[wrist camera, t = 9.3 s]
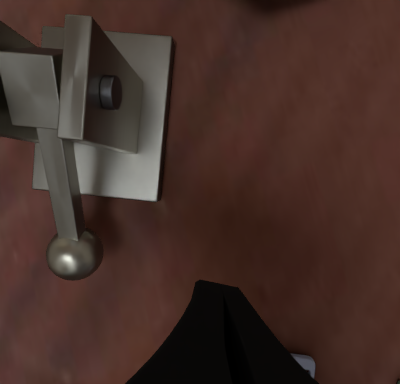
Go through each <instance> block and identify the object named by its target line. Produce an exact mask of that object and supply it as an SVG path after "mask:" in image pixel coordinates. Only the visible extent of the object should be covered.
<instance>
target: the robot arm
mask: <svg viewBox="0 0 400 384" xmlns="http://www.w3.org/2000/svg"><path fill="white" fill-rule="evenodd" d="M315 367H316V366H315V362H314V360H313V358H311V357H310V356H307V355H300V354H292V353H289V352H288V351H287V349H286V348H285V347H284V346H283V345H282V344H281V343H280V341H279V340H278V339H277V338H276V336H275V335H274V334H273V333H272V332H271V330H270V329H269V328H268V327H267V325H266V324H265V323H264V321H263V320H262V319H261V317H260V316H259V315H258V313H257V312H256V311H255V309H254V308H253V307H252V305H251V304H250V303H249V301H248V300H247V298H246V297H245V296H244V294H243V293H242V292H241V290H240V289H239V288H238V287H233V286H228V285H224V284H219V283H214V282H209V281H204V280H199V281H197V282H196V283H195V287H194V291H193V295H192V299H191V301H190V303H189V305H188V307H187V308H186V310H185V312H184V314H183V316H182V317H181V319H180V320H179V322H178V323H177V325H176V326H175V328H174V329H173V331H172V332H171V333H170V335H169V336H168V337H167V339H166V340H165V341H164V343H163V344H162V345H161V346H160V348H159V349H158V350H157V351H156V352H155V353H154V355H153V356H152V357H151V358H150V359H149V360H148V361H147V362H146V363H145V364H144V365H143V366H142V367H141V368H140V369H139V370H138V372H137V373H136V374H135V375H134V376H133V377H132V378H130V379H129V380H128V381H127V382H126V383H125V384H319V383H318V382H317V381H316V380H315V379H314V375H315ZM306 370H309V372H307V371H306Z"/></svg>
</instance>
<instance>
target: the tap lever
mask: <svg viewBox="0 0 400 384" xmlns="http://www.w3.org/2000/svg"><path fill="white" fill-rule="evenodd" d="M62 56H63V49H54V48H42V47H24V48H15V49H6V50H0V76H1V80H2V84H3V88H4V92H5V97H6V101H7V105H8V109H9V113H10V117H11V122H12V125H15V126H25V127H36V129H37V134H38V139H39V144H40V149H41V154H42V159H43V164H44V169H45V174H46V178H47V183H48V188H49V193H50V198H51V203H52V208H53V213H54V218H55V223H56V228H57V234H56V235H55V236H54V237H53V238H52V239H51V241H50V242H49V244H48V247H47V251H46V260H47V264H48V266H49V268H50V270H51V271H52V272H53V273H54V274H55V275H56V276H58V277H60V278H62V279H65V280H72V281H73V280H80V279H84V278H86V277H88V276H90V275H91V274H92V273H94V272H95V271H96V270H97V268H98V267H99V266H100V264H101V262H102V259H103V254H104V249H103V244H102V241H101V239H100V238H99V236H98V235H97V234H96V233H95V232H94V231H92V230H91V229H88V228H86V227H85V220H84V214H83V207H82V200H81V193H80V186H79V179H78V172H77V165H76V158H75V151H74V144H73V142H72V141H67V140H63V139H59V138H57V128H58V113H59V99H60V85H61V70H62Z"/></svg>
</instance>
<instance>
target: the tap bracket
mask: <svg viewBox="0 0 400 384" xmlns="http://www.w3.org/2000/svg"><path fill="white" fill-rule="evenodd" d="M24 47H37V46H35V45H34V44H32V43H31V42H30V41H28V40H27V39H25V38H24V37H23V36H21V35H20V34H18V33H17V32H16V31H14V30H13V29H11V28H10V27H9V26H7V25H6V24H4V23H3V22H2V21H0V50H6V49H15V48H24ZM41 47H42V48H54V49H63V56H62V70H61V85H60V99H59V113H58V128H57V138H59V139H63V140H67V141H72V142H73V144H74V151H75V158H76V165H77V172H78V179H79V186H80V193H81V194H83V195H93V196H102V197H112V198H121V199H131V200H140V201H150V202H158V201H160V200H161V190H162V179H163V169H164V158H165V147H166V136H167V125H168V114H169V104H170V93H171V82H172V71H173V60H174V49H175V44H174V41H173V38H172V36H161V35H149V34H136V33H124V32H111V31H103V30H102V29H101V28H100V26H99V25H98V24H97V22H96V21H95V20H94V19H93V17H91V16H82V15H69V14H67V15H65V27H64V28H61V27H49V26H43V28H42V44H41ZM0 137H6V138H12V139H17V140H23V141H29V142H34V143H35V151H34V166H33V182H32V189H36V190H45V191H49V188H48V183H47V178H46V174H45V169H44V164H43V159H42V154H41V149H40V144H39V139H38V134H37V129H36V127H25V126H15V125H12V122H11V117H10V113H9V109H8V105H7V101H6V97H5V92H4V88H3V84H2V80H1V76H0Z"/></svg>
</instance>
